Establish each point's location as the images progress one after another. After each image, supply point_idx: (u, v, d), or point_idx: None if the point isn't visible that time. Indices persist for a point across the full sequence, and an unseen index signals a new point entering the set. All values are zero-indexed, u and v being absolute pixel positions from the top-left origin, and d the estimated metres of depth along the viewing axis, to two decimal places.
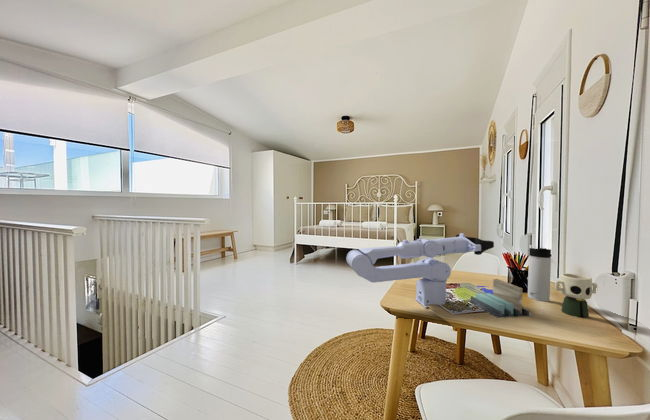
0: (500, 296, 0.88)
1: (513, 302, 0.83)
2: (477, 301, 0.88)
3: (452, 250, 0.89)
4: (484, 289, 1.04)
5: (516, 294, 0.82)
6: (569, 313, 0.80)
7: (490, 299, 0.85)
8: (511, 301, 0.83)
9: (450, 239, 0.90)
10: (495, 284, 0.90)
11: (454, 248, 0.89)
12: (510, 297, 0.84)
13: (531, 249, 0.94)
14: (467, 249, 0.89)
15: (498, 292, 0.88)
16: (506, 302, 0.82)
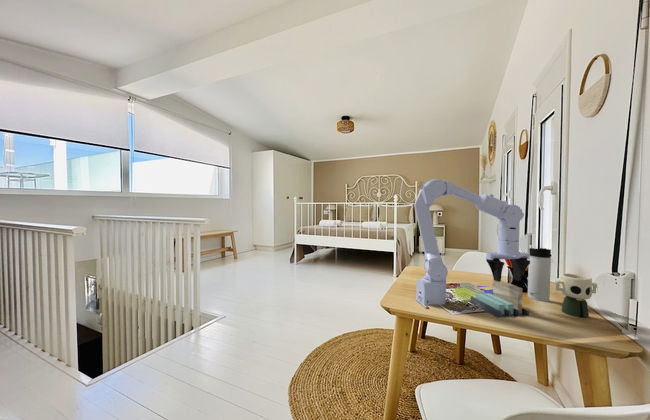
0: (500, 296, 0.88)
1: (513, 302, 0.83)
2: (477, 301, 0.88)
3: (507, 238, 0.83)
4: None
5: (516, 294, 0.82)
6: (569, 313, 0.80)
7: (490, 299, 0.85)
8: (511, 301, 0.83)
9: (518, 239, 0.84)
10: (495, 284, 0.90)
11: (510, 240, 0.83)
12: (510, 297, 0.84)
13: (531, 249, 0.94)
14: (497, 253, 0.87)
15: (498, 292, 0.88)
16: (506, 302, 0.82)
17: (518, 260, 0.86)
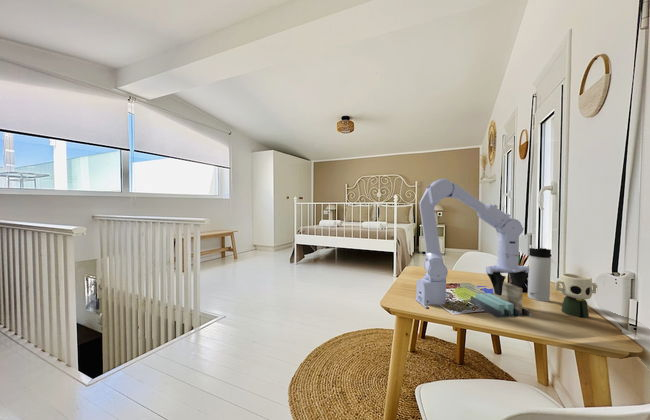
0: (500, 296, 0.88)
1: (513, 302, 0.83)
2: (477, 301, 0.88)
3: (507, 252, 0.84)
4: (484, 289, 1.04)
5: (516, 294, 0.82)
6: (569, 313, 0.80)
7: (490, 299, 0.85)
8: (511, 301, 0.83)
9: (518, 253, 0.84)
10: None
11: (510, 254, 0.83)
12: (510, 297, 0.84)
13: (531, 249, 0.94)
14: (497, 266, 0.87)
15: None
16: (506, 302, 0.82)
17: (516, 274, 0.86)
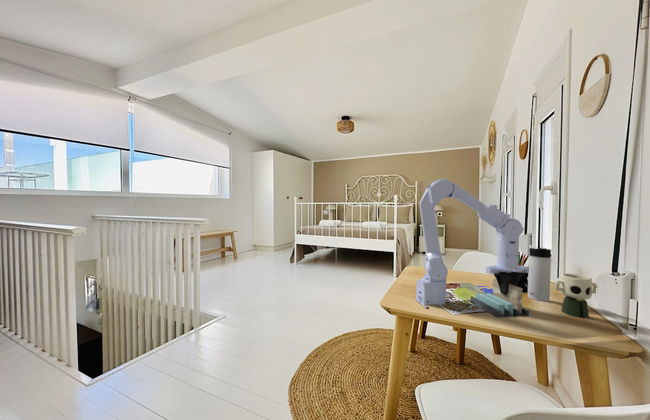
0: (500, 296, 0.88)
1: (513, 302, 0.83)
2: (477, 301, 0.88)
3: (507, 252, 0.84)
4: (484, 289, 1.04)
5: (516, 294, 0.82)
6: (569, 313, 0.80)
7: (490, 299, 0.85)
8: (511, 301, 0.83)
9: (518, 253, 0.84)
10: (495, 284, 0.90)
11: (510, 254, 0.83)
12: (510, 297, 0.84)
13: (531, 249, 0.94)
14: (497, 266, 0.87)
15: (498, 292, 0.88)
16: (506, 302, 0.82)
17: (510, 274, 0.86)
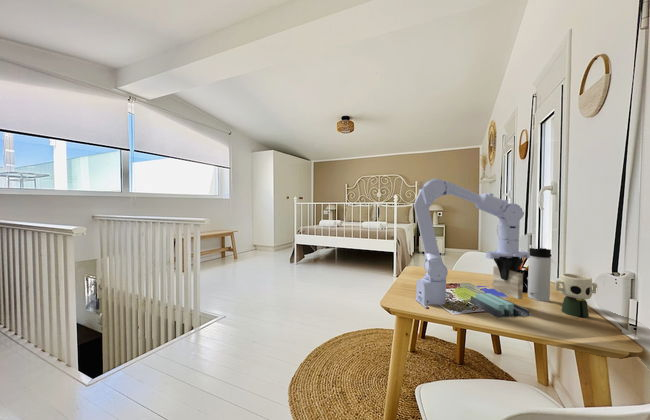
0: (500, 283, 0.88)
1: (513, 288, 0.82)
2: (477, 301, 0.88)
3: (507, 237, 0.83)
4: (484, 289, 1.04)
5: (516, 280, 0.81)
6: (569, 313, 0.80)
7: (490, 299, 0.85)
8: (511, 287, 0.83)
9: (518, 237, 0.84)
10: (495, 271, 0.90)
11: (510, 239, 0.83)
12: (511, 283, 0.83)
13: (531, 249, 0.94)
14: (497, 252, 0.87)
15: (499, 279, 0.88)
16: (506, 302, 0.82)
17: (511, 259, 0.86)
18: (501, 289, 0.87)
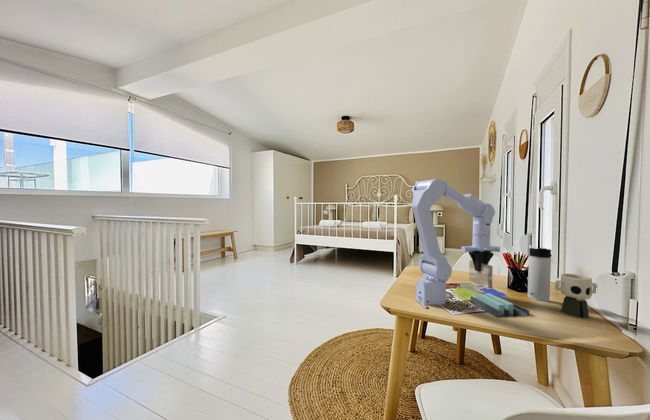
0: (475, 275, 0.99)
1: (485, 279, 0.94)
2: (477, 301, 0.88)
3: (484, 233, 0.94)
4: (484, 289, 1.04)
5: (487, 271, 0.93)
6: (569, 313, 0.80)
7: (490, 299, 0.85)
8: (483, 278, 0.94)
9: None
10: (470, 265, 1.01)
11: (486, 235, 0.94)
12: (483, 275, 0.95)
13: (531, 249, 0.94)
14: (471, 246, 0.98)
15: (473, 271, 1.00)
16: (506, 302, 0.82)
17: (483, 253, 0.97)
18: (475, 280, 0.99)
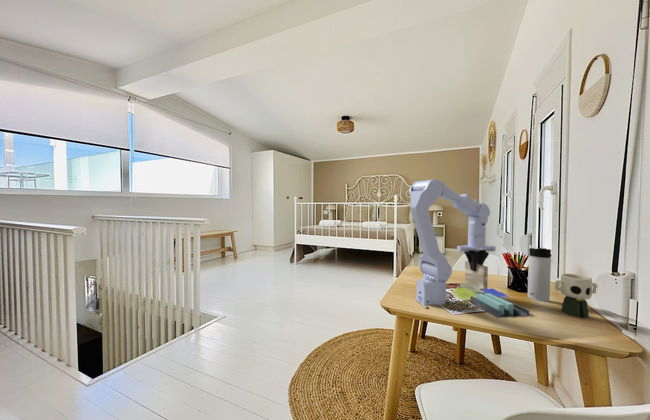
0: (470, 275, 0.99)
1: (480, 279, 0.94)
2: (477, 301, 0.88)
3: (480, 233, 0.94)
4: (484, 289, 1.04)
5: (482, 272, 0.93)
6: (569, 313, 0.80)
7: (490, 299, 0.85)
8: (478, 279, 0.95)
9: None
10: (466, 265, 1.02)
11: (482, 234, 0.94)
12: (478, 275, 0.95)
13: (531, 249, 0.94)
14: (467, 246, 0.98)
15: (469, 272, 1.00)
16: (506, 302, 0.82)
17: (479, 252, 0.97)
18: (470, 281, 0.99)
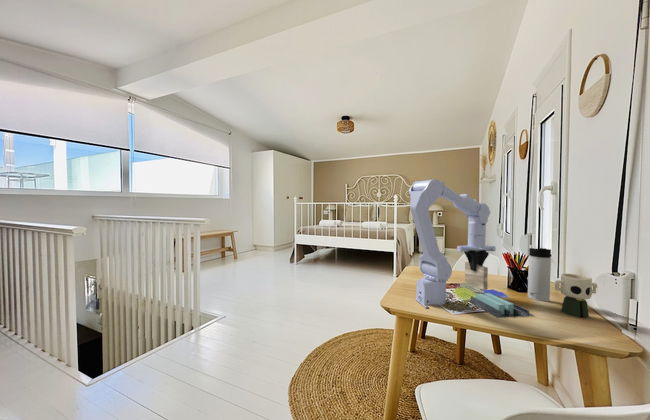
0: (470, 276, 0.99)
1: (480, 280, 0.94)
2: (477, 301, 0.88)
3: (480, 233, 0.94)
4: None
5: (482, 273, 0.93)
6: (569, 313, 0.80)
7: (490, 299, 0.85)
8: (478, 279, 0.95)
9: None
10: (466, 266, 1.02)
11: (482, 234, 0.94)
12: (478, 276, 0.95)
13: (531, 249, 0.94)
14: (467, 246, 0.98)
15: (469, 273, 1.00)
16: (506, 302, 0.82)
17: (479, 252, 0.97)
18: (470, 282, 0.99)
